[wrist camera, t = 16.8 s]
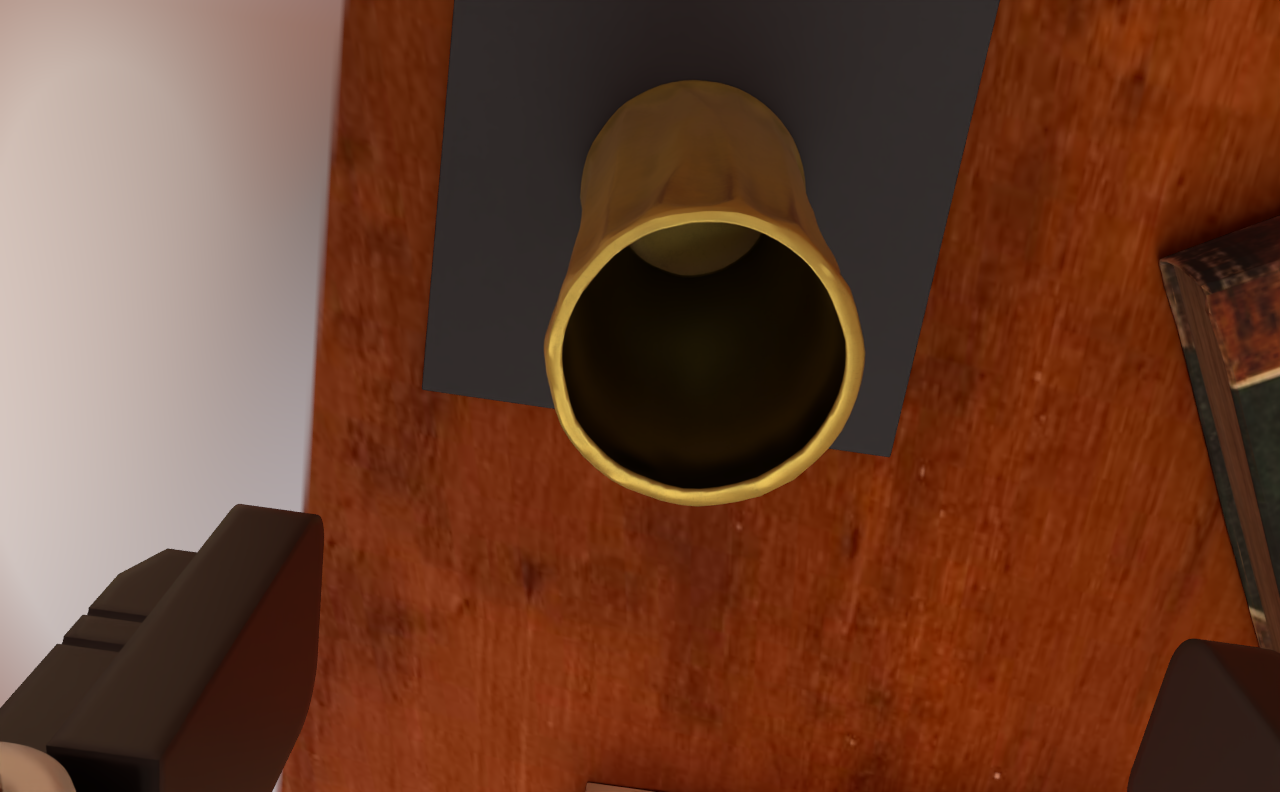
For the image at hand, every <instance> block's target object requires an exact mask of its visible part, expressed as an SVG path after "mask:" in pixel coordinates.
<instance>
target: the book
mask: <svg viewBox="0 0 1280 792" xmlns="http://www.w3.org/2000/svg"><path fill="white" fill-rule="evenodd" d="M1159 265H1160V269H1161V272H1162V277H1163V282H1164V287H1165V290H1166V293H1167V296H1168V300H1169V303H1170V306H1171V309H1172V312H1173V316H1174V319H1175V322H1176V325H1177V328H1178V332H1179V335H1180V339H1181V343H1182V347H1183V352H1184V356H1185V360H1186V364H1187V368H1188V372H1189V376H1190V380H1191V384H1192V388H1193V392H1194V396H1195V400H1196V404H1197V409H1198V413H1199V417H1200V421H1201V425H1202V429H1203V433H1204V437H1205V441H1206V445H1207V449H1208V453H1209V457H1210V461H1211V466H1212V470H1213V474H1214V478H1215V482H1216V486H1217V490H1218V494H1219V498H1220V502H1221V506H1222V510H1223V514H1224V518H1225V523H1226V526H1227V530H1228V534H1229V537H1230V541H1231V544H1232V548H1233V552H1234V555H1235V559H1236V563H1237V566H1238V570H1239V574H1240V577H1241V581H1242V584H1243V588H1244V592H1245V595H1246V599H1247V603H1248V606H1249V610H1250V613H1251V617H1252V621H1253V624H1254V628H1255V632H1256V635H1257V639H1258V643H1259V646H1260V648H1265V649H1271V650H1275V651H1276V652H1278V653H1280V215H1279V216H1277V217H1274V218H1271V219H1268V220H1265V221H1263V222H1260V223H1257V224H1254V225H1252V226H1249V227H1246V228H1243V229H1241V230H1238V231H1235V232H1232V233H1230V234H1227V235H1224V236H1221V237H1219V238H1216V239H1213V240H1210V241H1208V242H1205V243H1202V244H1199V245H1197V246H1194V247H1191V248H1188V249H1186V250H1183V251H1180V252H1178V253H1175V254H1172V255H1169V256H1167V257H1164V258H1162V259H1160V261H1159Z"/></svg>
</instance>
